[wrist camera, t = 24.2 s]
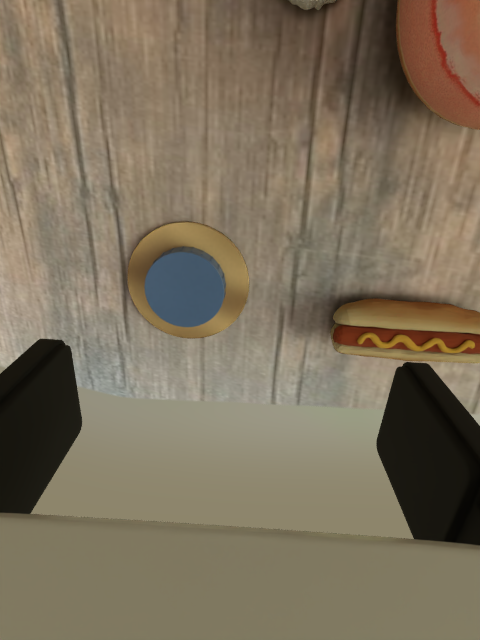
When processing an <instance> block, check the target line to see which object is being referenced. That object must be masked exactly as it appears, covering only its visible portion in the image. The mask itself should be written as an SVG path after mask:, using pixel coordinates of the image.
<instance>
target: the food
mask: <svg viewBox="0 0 480 640" xmlns="http://www.w3.org/2000/svg"><path fill="white" fill-rule="evenodd" d="M333 319H334V320H335V322H336V323H335V324H334V325H333V327H332V329H331V333H330V334H331V339H332V342H333V346H334V348H335V350H336V351H337V352H339V353H343V354H351V355H359V356H369V357H380V358H391V359H397V360H404V361H435V362H458V363H480V313H479V312H477V311H474V310H467V309H463V308H459V307H456V306H454V305H451V304H439V303H430V302H407V301H396V300H386V299H377V298H375V299H365V300H360V301H356V302H352V303H347V304H344V305H342V306H341V307H340V308H338V309H337V311H336V312H335V314H334V315H333Z"/></svg>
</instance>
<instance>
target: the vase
mask: <svg viewBox="0 0 480 640" xmlns="http://www.w3.org/2000/svg"><path fill="white" fill-rule="evenodd" d="M396 39H397V49H398V54H399V58H400V62H401V66H402V69H403V71H404V74H405V76H406V79H407V81H408V83H409V85H410V86H411V88H412V90H413V91H414V93H415V94H416V96H417V97H418V98H419V99H420V100H421V101H422V102H423V103H424V105H425V106H426V107H427V108H428V109H430V110H431V111H432V112H434V113H435V114H436V115H438V116H439V117H440V118H442V119H445V120H447V121H449V122H451V123H453V124H456V125H459V126H463V127H467V128H471V129H477V130H480V0H398V2H397V13H396Z"/></svg>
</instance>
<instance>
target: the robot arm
mask: <svg viewBox="0 0 480 640" xmlns="http://www.w3.org/2000/svg"><path fill="white" fill-rule="evenodd" d="M81 426H82V417H81V412H80V404H79V398H78V392H77V385H76V378H75V372H74V365H73V359H72V352H71V348H70V346H68V345H65V343H64V341H62V340H53V339H40V340H38V341H37V342H36V343H34V344H33V345H32V346H31V347H30V348H29V349H28V350H27V351H25V352H24V353H23V354H22V355H21V356H20V357H19V358H18V359H16V360H15V361H14V362H13V363H12V364H11V365H10V366H9V367H7V368H6V369H5V370H4V371H3V372H2V373H1V374H0V640H480V426H479V425H478V423H477V422H476V421H475V420H474V418H473V417H472V416H471V415H470V414H469V412H468V411H467V410H466V409H465V408H464V406H463V405H462V404H461V403H460V402H459V400H458V399H457V398H456V397H455V395H454V394H453V393H452V392H451V391H450V389H449V388H448V387H447V386H446V385H445V383H444V382H443V381H442V380H441V379H440V377H439V376H438V375H437V374H436V373H435V371H434V370H433V369H432V368H431V366H430V365H428V364H427V363H413V362H406V363H404V364H403V366H402V367H398V368H397V369H396V372H395V375H394V379H393V383H392V386H391V390H390V393H389V397H388V401H387V404H386V408H385V412H384V416H383V419H382V423H381V426H380V430H379V434H378V437H377V451H378V453H379V456H380V458H381V461H382V463H383V466H384V468H385V471H386V473H387V475H388V477H389V480H390V482H391V485H392V487H393V490H394V492H395V495H396V497H397V499H398V502H399V504H400V506H401V509H402V511H403V514H404V516H405V518H406V521H407V523H408V526H409V528H410V530H411V533H412V535H413V538H414V539H405V538H393V537H379V536H365V535H350V534H337V533H323V532H309V531H293V530H280V529H265V528H250V527H234V526H219V525H203V524H189V523H188V524H187V523H173V522H157V521H141V520H125V519H108V518H90V517H74V516H57V515H39V514H30V513H31V512H32V510H33V508H34V506H35V505H36V503H37V502H38V500H39V498H40V497H41V495H42V493H43V492H44V490H45V489H46V487H47V485H48V483H49V482H50V480H51V479H52V477H53V475H54V474H55V472H56V471H57V469H58V467H59V465H60V464H61V462H62V460H63V459H64V457H65V456H66V454H67V452H68V451H69V449H70V447H71V446H72V444H73V443H74V441H75V439H76V438H77V436H78V434H79V433H80V430H81Z"/></svg>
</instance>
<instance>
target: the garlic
mask: <svg viewBox="0 0 480 640" xmlns="http://www.w3.org/2000/svg"><path fill="white" fill-rule="evenodd" d="M289 1H290V2H291V4H293V5H298V6H299V7H300V8H302V9H304V10H309V9H311V8H313V7H315V9H317V10H319V9H320V8H321V7H322V5H324V4H327V3H333V2H335V1H337V0H289Z"/></svg>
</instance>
